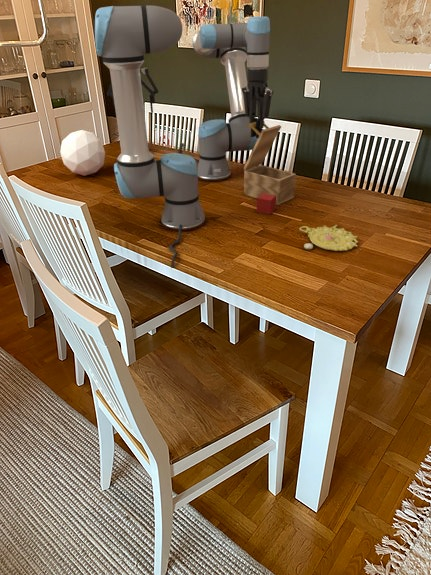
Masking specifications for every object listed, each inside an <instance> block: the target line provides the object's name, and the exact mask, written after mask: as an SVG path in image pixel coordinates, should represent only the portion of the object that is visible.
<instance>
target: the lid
mask: <svg viewBox="0 0 431 575" xmlns="http://www.w3.org/2000/svg"><path fill="white" fill-rule="evenodd" d="M263 126H264V127H263V129H262V131H261V133H260V132H259V131H258V130H257V129H256V128H254V127H256V122H253V123H250V124H249V125H248V127H249V128H250V129H251V128H252V129H253V130H254V131H255V132H256V133H257V134H258V135H259V138H258V140H257V142H256V144H255V146H254V148H253V150H251V152H250V154H249V156H248V159H247V160H246V162H245V164H244V166H243V170H244V171H246V170H248V169H251V168H254V167H257V166H260V165H263V163H264V161H265V159H266V157H267V156H268V153H269V152H270V149H271V148H272V147H273V146H272V145H273V144H274V142H275V140H276V138H277V136H278V134H279V132H280V130H281V129H282V125H280V124H277V125H275V126H271V127H269V126H268V125H267V124H266V122H265V121H264V125H263ZM264 128H265V129H264Z"/></svg>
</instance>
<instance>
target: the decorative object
mask: <svg viewBox="0 0 431 575" xmlns="http://www.w3.org/2000/svg"><path fill="white" fill-rule="evenodd" d="M303 228H304V229H305V230H304V229H303ZM299 231H300V232H303V233H305V234H307V237H308V238H309V240H310V241H311V243H304V244H303V248H304V249H305V250H313V249H314V245H315V246H316V247H318V248H321V249H324V250H328V251H335V252H341V251H348V250H352V249H354V247H356V248H358V247H359V245H358V244H357V243H359V240H357V238H359V237H358V235H353V234H352V231H347V230H346V229H345V228H344V227H342V228H338V224H335V225H333V226H331V227H328V226H327V225H326V224H325V225H323V226H322V227H321V226H317V227H316V228H314V227H309V226H308V225H302V226H300V227H299ZM313 244H314V245H313Z"/></svg>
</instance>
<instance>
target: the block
mask: <svg viewBox="0 0 431 575" xmlns="http://www.w3.org/2000/svg"><path fill="white" fill-rule="evenodd" d="M276 209H277V205H276V195H272V194H265V193H262V194H261V195H260V196H259V197H258V198H256V213H260V214H265V215H266V214H267V215H271V214H272V213H273V212H274V211H276Z"/></svg>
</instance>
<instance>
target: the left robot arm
mask: <svg viewBox="0 0 431 575" xmlns="http://www.w3.org/2000/svg"><path fill="white" fill-rule="evenodd" d="M182 35H183V23H182V20H181V18H180V16H179V15H178V14H177V13H176V12H174V11H173V10H172V9H170V8H166V7H163V6H158V5H148V4H147V5H127V6H126V5H119V6H117V5H111V6H103V7H99V8H98V9H97V10H96V12H95V15H94V40H95V41H94V42H95V53H96V55H97V57H98V56H99V57H102V62H103V65H105V66H106V68H108V70H109V74H110V83H109V85H108V88H107V92H106V95H107V97H111V100H112V105H113V107H114V109H115V117H116V124H117V130H118V131H117V132H118V138H119V145H120V154H119V155H118V156H117V158H116V159H117V162H115V163H114V164H113V170H114V175H115V181H116V183H117V187H118V190H119V192H120V195H121V196H122V198H124V199H134V200H135V199H136V200H138V199H146V198H157V197H164V204H163V209H162V213H161V219H160V220H161V225H162V227H163V228H165V229H167V230H170V231H175V232H176V231H177V232H178V233H177V239H176V240H175V241H173V242H172V243H171V244H169V249H170V250H171V251H172V252H173V253H174V254H173V256H172V258H171V261H170V262H171V263H170V268H171V269H174V268H175V261H176V259H177V257H178V251H177V250H176V249H175V248H173V247H174V246H176V245H177V244H179V243H180V241H181V238H182V232H185V231H186V232H187V231H192V230H195V229H198V228H201V227H202V226H203V225H204V224H205V223H206V216H205V212H204V210H203V208H202V204H201V202H200V196H199V179H198V177H197V174H198V171H197V169H198V164H197V161H195V159H196V158H194V157H193V156H191V155H188V154H184V153H181V154H179V152H170V153H169V152H168V153H163V154H162V155H161V156H160V159H157V160H156V159H155V154H153V153H152V152H151V151H150V149H149V143H148V142H149V141H148V134H147V132H148V131H147V125H146V124H147V123H146V113H145V106H144V97H143V96H144V95H143V87H144V88H145V89H146V90H147V91H148V93H149V94H148V96H149V105H150V114H153V113H154V107H153V104H155V103H156V100H155V95H157V94H158V93H159V89H158V87H157V85H156V84H155V82H154V80H153V78H152V76H151V75H150V73H149V69H148V67H143V68H141V66H142V65H143V64H144V63H145V55H146V54H147V55H148V54H149V55H150V54H157V53H161V52H164V51H168V50H169V49H171V48H173V47H174V46H176V45H177V44H178V43H179V42H180V40H181V39H182ZM142 73H143V75H145V76H146V78H147V80H148V82H149V83H150V85H151V87H152V88H151V87H150V86H149V85H148V84H147V82H145V81H144V79H142V77H141V76H142V75H141V74H142Z"/></svg>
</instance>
